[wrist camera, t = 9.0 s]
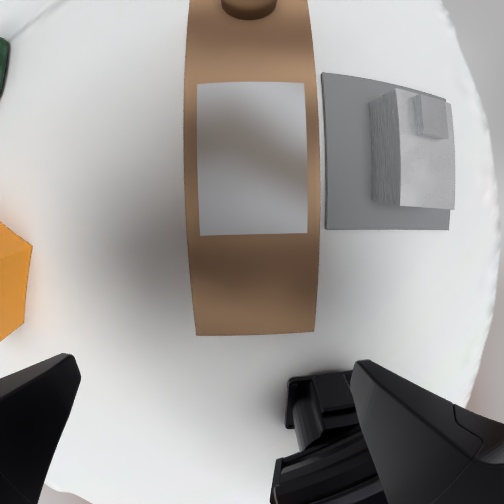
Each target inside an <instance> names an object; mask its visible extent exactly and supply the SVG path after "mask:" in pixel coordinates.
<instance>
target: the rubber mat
mask: <svg viewBox="0 0 504 504" xmlns="http://www.w3.org/2000/svg"><path fill="white" fill-rule="evenodd" d="M321 80H322V93H323V108H324V128H325V159H326V220H325V229H327V230H350V229H399V230H449V220H450V209H439V208H426V207H410V206H398V205H393V204H388V203H382V202H377V201H371V135H370V117H369V102H371V101H373V100H375V99H377V98H378V97H380V96H382V95H384V94H385V93H387V92H389V91H391V90H393V89H395V88H398V89H402V90H406V91H410V92H414V93H417V94H423V95H426V96H430V97H433V98H436V99H439V100H442V101H445V102H446V99H444V98H441V97H438V96H435V95H431V94H428V93H425V92H421V91H418V90H414V89H410V88H407V87H403V86H399V85H394V84H390V83H385V82H381V81H376V80H371V79H365V78H360V77H354V76H347V75H340V74H332V73H324V72H322V74H321Z"/></svg>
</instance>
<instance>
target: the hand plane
mask: <svg viewBox="0 0 504 504" xmlns="http://www.w3.org/2000/svg"><path fill="white" fill-rule="evenodd" d="M184 184H185V208H186V227H187V242H188V256H189V269H190V280H191V291H192V301H193V310H194V319H195V327H196V336H230V335H265V334H285V333H301V332H314V327H315V314H316V301H317V285H318V265H319V239H320V145H319V119H318V101H317V86H316V73H315V62H314V51H313V42H312V33H311V25H310V17H309V10H308V3H307V0H190V3H189V14H188V26H187V39H186V56H185V78H184Z"/></svg>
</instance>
